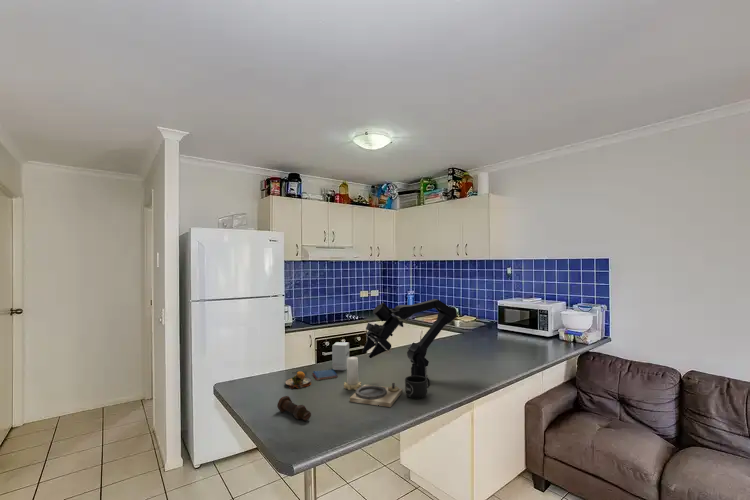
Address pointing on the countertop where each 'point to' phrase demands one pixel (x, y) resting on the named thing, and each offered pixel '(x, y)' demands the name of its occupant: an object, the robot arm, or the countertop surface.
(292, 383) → the burger
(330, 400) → the countertop surface
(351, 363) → the gear spindle
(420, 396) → the mug
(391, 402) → the gear board
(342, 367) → the supplement box
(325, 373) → the woven mat
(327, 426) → the countertop surface
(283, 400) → the bolt
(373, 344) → the robot arm
